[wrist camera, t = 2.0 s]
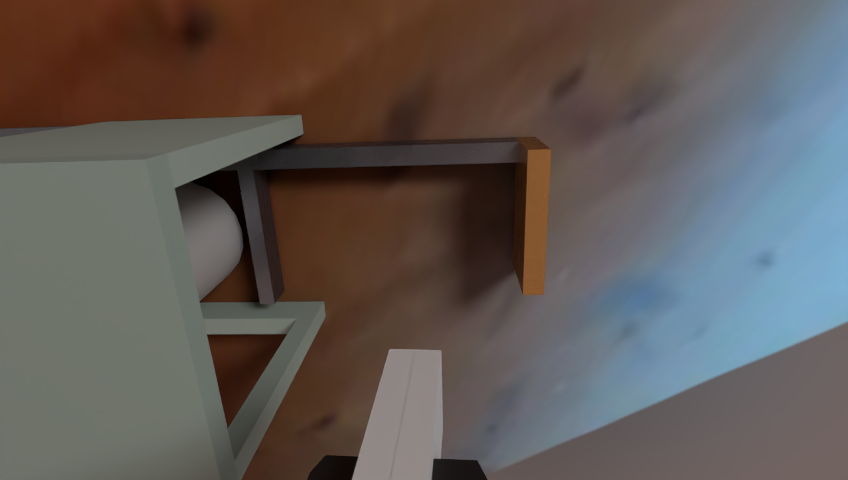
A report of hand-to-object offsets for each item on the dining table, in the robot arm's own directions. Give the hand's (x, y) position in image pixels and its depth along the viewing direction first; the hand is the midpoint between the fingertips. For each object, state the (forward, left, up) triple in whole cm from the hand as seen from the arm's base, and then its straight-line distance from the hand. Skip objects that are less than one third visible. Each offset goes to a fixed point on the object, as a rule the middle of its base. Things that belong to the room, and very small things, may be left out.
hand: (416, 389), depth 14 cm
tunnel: (-15, -1, -19) cm, 24 cm away
